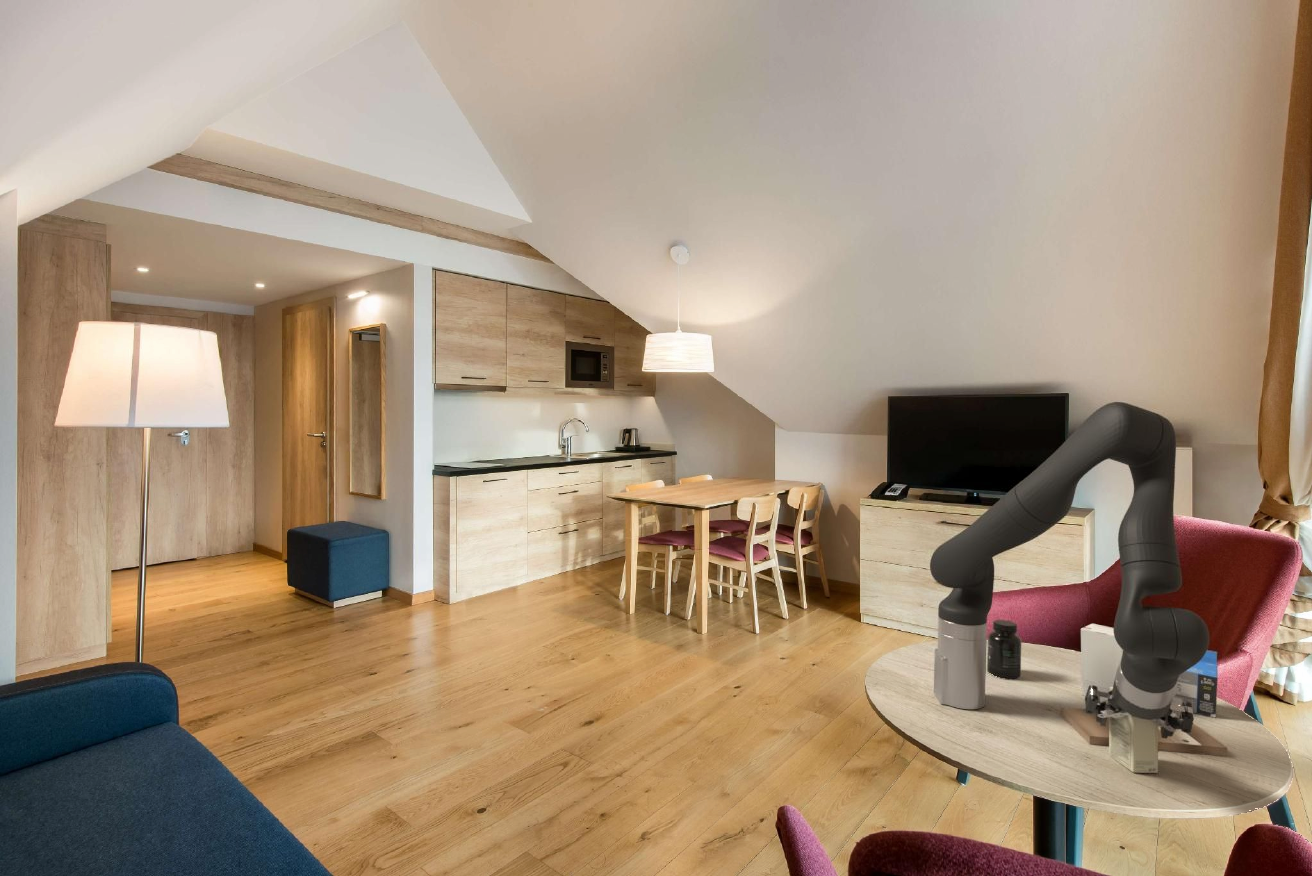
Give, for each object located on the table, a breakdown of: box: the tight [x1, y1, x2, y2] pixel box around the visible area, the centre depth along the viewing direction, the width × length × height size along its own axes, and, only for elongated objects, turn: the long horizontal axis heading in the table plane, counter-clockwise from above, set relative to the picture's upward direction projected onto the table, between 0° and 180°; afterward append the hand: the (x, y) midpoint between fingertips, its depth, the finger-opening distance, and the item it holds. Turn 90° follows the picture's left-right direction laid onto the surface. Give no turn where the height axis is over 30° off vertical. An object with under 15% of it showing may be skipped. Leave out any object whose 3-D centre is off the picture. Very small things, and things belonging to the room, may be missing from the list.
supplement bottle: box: [986, 619, 1022, 680], centre depth 150 cm, size 7×7×12 cm
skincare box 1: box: [1080, 623, 1123, 697], centre depth 137 cm, size 8×6×15 cm
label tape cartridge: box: [1171, 649, 1219, 718], centre depth 133 cm, size 9×4×12 cm, turn 51°
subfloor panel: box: [1060, 706, 1228, 756], centre depth 122 cm, size 22×12×2 cm, turn 80°
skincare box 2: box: [1108, 687, 1159, 774], centre depth 111 cm, size 6×4×12 cm
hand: (1132, 726), depth 112 cm, fingers open, 8 cm apart
